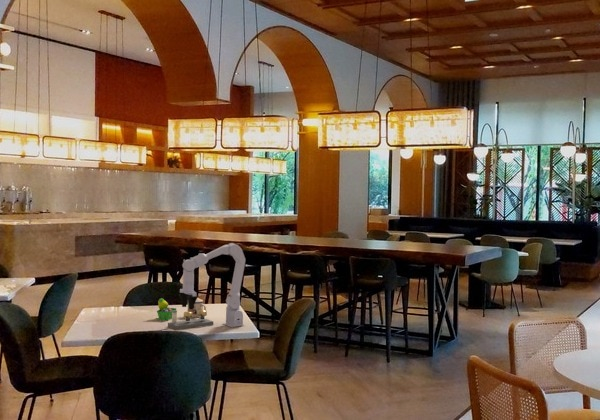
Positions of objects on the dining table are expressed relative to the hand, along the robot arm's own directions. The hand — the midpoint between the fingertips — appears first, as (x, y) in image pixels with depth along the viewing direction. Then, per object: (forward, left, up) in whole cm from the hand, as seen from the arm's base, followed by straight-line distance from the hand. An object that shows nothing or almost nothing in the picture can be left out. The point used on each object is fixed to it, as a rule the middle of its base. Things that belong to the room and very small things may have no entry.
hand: (187, 308), depth 354 cm
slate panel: (+1, -3, -10) cm, 10 cm away
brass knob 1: (0, 0, -7) cm, 7 cm away
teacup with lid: (+21, -19, -10) cm, 29 cm away
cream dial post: (+3, +6, -8) cm, 11 cm away
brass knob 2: (0, -9, -7) cm, 11 cm away
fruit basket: (+25, -1, -10) cm, 27 cm away
